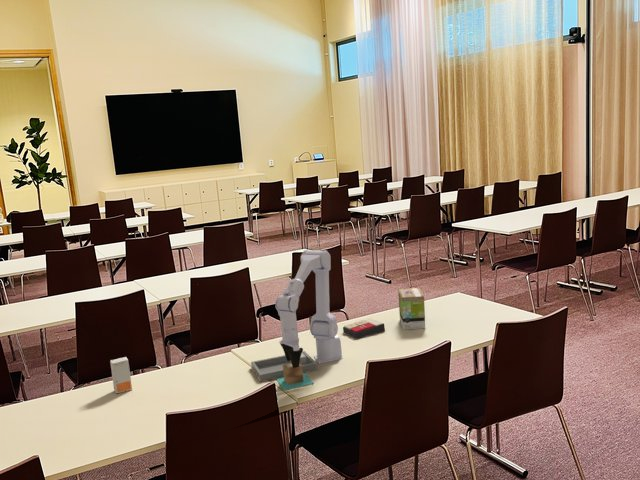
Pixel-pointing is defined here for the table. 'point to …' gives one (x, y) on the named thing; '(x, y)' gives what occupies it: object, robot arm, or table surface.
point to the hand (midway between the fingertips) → (292, 363)
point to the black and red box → (363, 328)
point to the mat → (290, 386)
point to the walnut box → (292, 374)
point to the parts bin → (278, 367)
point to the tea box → (411, 308)
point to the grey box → (303, 359)
